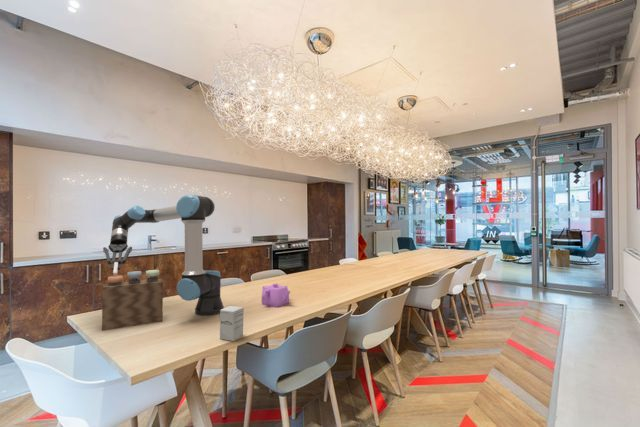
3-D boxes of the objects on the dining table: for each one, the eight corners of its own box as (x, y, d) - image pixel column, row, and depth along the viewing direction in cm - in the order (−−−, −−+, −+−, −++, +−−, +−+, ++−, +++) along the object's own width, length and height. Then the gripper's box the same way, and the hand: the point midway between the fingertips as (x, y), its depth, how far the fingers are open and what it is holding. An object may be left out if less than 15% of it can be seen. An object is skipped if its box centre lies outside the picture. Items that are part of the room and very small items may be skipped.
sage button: (145, 279, 149) (146, 272, 150) (145, 277, 155) (145, 270, 155) (159, 278, 153) (159, 270, 153) (158, 276, 158) (159, 269, 158)
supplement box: (219, 339, 127) (219, 309, 128) (230, 333, 134) (230, 305, 134) (233, 341, 124) (233, 311, 125) (243, 335, 131) (244, 306, 132)
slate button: (127, 281, 145) (127, 273, 146) (127, 279, 151) (127, 271, 151) (141, 280, 148) (141, 272, 149) (141, 278, 154) (141, 270, 154)
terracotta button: (107, 286, 141) (107, 278, 141) (108, 284, 146) (108, 276, 147) (122, 284, 144) (122, 276, 144) (122, 282, 149) (123, 275, 150)
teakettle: (261, 301, 189) (261, 281, 190) (288, 299, 192) (288, 280, 193) (261, 308, 172) (261, 287, 173) (290, 307, 176) (290, 286, 176)
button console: (101, 330, 138) (102, 284, 139) (104, 324, 147) (105, 280, 147) (162, 321, 151) (162, 278, 152) (161, 315, 160) (161, 275, 160)
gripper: (133, 243, 166) (130, 277, 151) (104, 243, 159) (99, 279, 144) (133, 233, 162) (130, 268, 147) (103, 234, 155) (98, 270, 140)
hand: (115, 274), depth 146 cm, fingers closed
